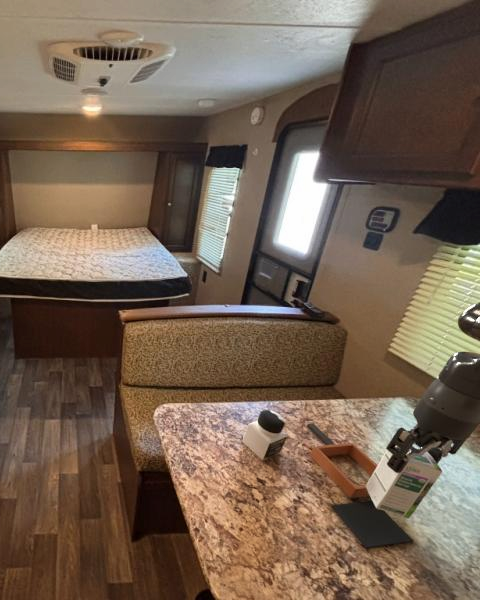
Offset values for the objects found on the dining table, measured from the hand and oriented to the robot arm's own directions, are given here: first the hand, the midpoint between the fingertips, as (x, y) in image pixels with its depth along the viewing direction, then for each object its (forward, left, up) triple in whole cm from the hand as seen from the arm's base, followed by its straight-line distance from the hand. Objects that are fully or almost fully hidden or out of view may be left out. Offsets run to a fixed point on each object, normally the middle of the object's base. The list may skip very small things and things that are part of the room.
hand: (409, 467), depth 65 cm
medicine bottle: (+12, -22, -19) cm, 31 cm away
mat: (0, 0, -19) cm, 19 cm away
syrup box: (0, 0, -11) cm, 11 cm away
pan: (-7, -16, -19) cm, 26 cm away
